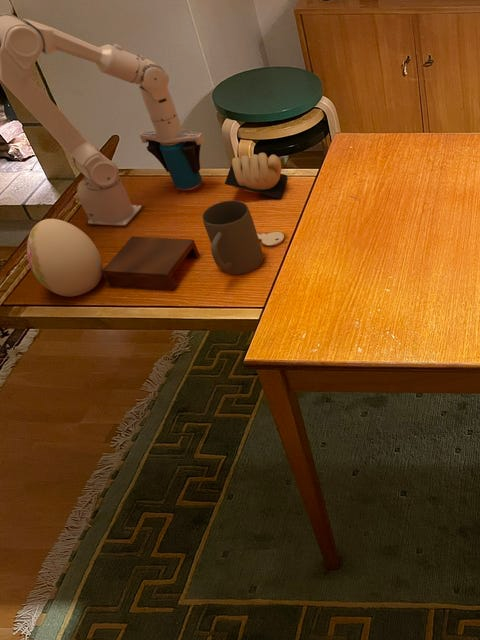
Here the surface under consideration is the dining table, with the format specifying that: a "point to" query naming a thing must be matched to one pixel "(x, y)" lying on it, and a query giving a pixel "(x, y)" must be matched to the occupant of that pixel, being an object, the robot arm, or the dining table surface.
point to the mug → (233, 237)
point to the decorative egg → (63, 258)
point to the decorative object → (257, 175)
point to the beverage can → (179, 166)
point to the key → (271, 238)
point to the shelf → (149, 262)
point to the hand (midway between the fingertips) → (183, 170)
